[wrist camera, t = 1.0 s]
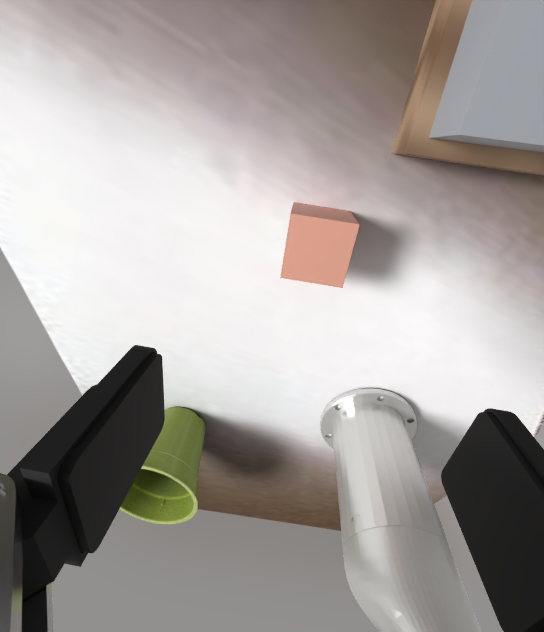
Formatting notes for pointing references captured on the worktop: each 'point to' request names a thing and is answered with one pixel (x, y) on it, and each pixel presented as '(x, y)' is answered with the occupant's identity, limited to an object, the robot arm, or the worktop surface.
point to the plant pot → (169, 472)
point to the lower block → (427, 97)
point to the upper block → (496, 78)
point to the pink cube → (319, 244)
